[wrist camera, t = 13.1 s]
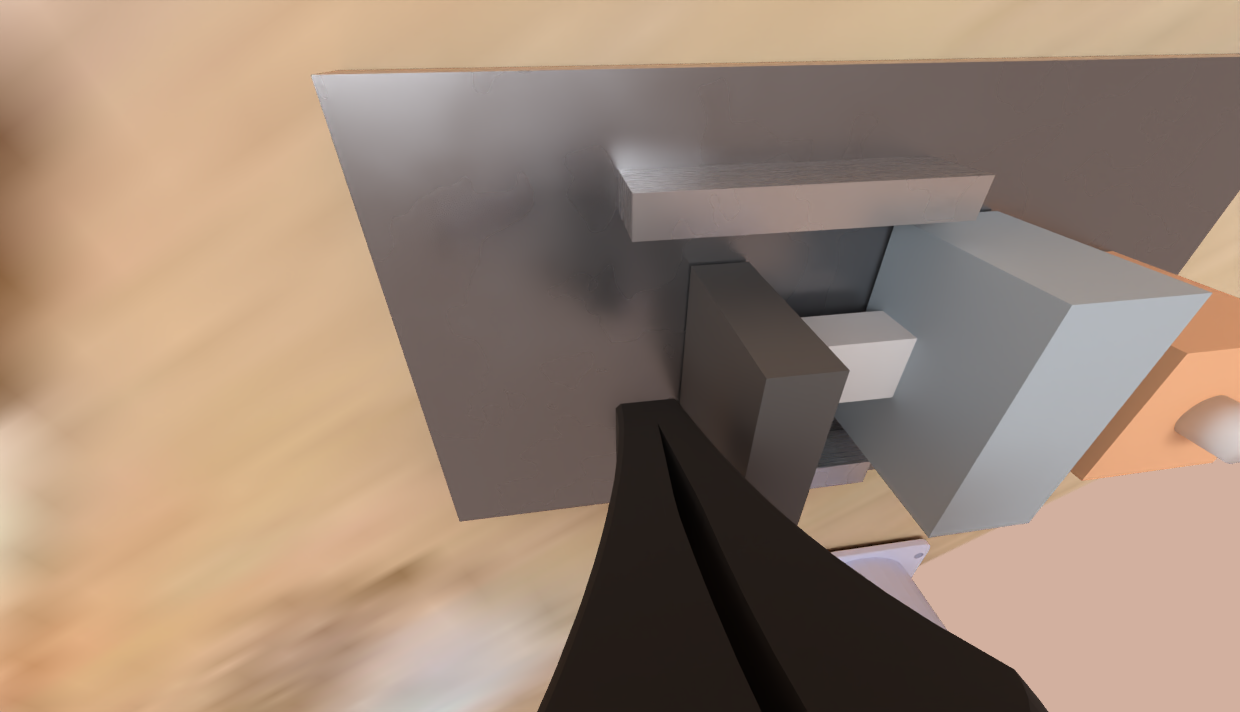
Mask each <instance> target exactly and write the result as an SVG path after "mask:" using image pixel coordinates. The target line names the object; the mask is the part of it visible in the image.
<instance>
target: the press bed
mask: <svg viewBox="0 0 1240 712" xmlns="http://www.w3.org/2000/svg"><path fill="white" fill-rule="evenodd" d="M311 77H312V80H313V83H314V86H315V89H316V92H317V95H318V98H319V101H320V104H321V107H322V110H323V113H324V116H325V119H326V122H327V125H328V128H329V131H330V134H331V137H332V140H333V143H334V146H335V149H336V152H337V155H338V158H339V161H340V164H341V167H342V170H343V173H344V176H345V179H346V182H347V185H348V188H349V191H350V194H351V197H352V200H353V203H354V206H355V209H356V212H357V215H358V218H359V221H360V224H361V227H362V230H363V233H364V236H365V239H366V242H367V245H368V248H369V251H370V254H371V257H372V260H373V263H374V266H375V269H376V272H377V275H378V278H379V281H380V284H381V287H382V290H383V293H384V296H385V299H386V302H387V305H388V308H389V311H390V314H391V317H392V320H393V323H394V326H395V329H396V332H397V335H398V338H399V341H400V344H401V347H402V350H403V353H404V356H405V359H406V362H407V365H408V368H409V371H410V374H411V377H412V380H413V383H414V386H415V389H416V392H417V395H418V398H419V401H420V404H421V407H422V410H423V413H424V416H425V419H426V422H427V425H428V428H429V431H430V434H431V437H432V440H433V443H434V446H435V449H436V452H437V455H438V458H439V461H440V464H441V467H442V470H443V473H444V476H445V479H446V482H447V485H448V488H449V491H450V494H451V497H452V500H453V503H454V506H455V509H456V512H457V515H458V518H459V521H468V520H476V519H484V518H492V517H500V516H508V515H515V514H523V513H531V512H539V511H547V510H555V509H563V508H571V507H579V506H587V505H595V504H603V503H610V498H611V493H612V488H613V483H614V477H615V469H616V407H618V406H619V405H620V404H623V403H633V402H643V401H653V400H663V399H675V400H676V401H678V402H679V404H680V393H681V381H682V370H683V358H684V346H685V334H686V322H687V310H688V298H689V286H690V274H691V266H697V265H712V264H726V263H740V262H749V263H750V264H751V265H752V266H753V267H754V268H755V269H756V270H757V271H758V272H759V274H760V275H761V276H762V277H763V278H764V279H765V280H766V281H767V282H768V283H769V284H770V285H771V286H772V287H773V289H774V290H775V291H776V292H777V293H778V294H779V295H780V296H781V297H782V298H783V299H784V300H785V301H786V302H787V304H788V305H789V306H790V307H791V308H792V309H793V310H794V311H795V312H796V313H797V314H798V315H799V316H800V317H812V316H824V315H836V314H848V313H860V312H866V309H867V306H868V303H869V300H870V297H871V294H872V291H873V288H874V285H875V282H876V279H877V276H878V273H879V270H880V267H881V264H882V261H883V258H884V255H885V252H886V249H887V246H888V243H889V240H890V237H891V234H892V231H893V228H894V226H896V225H912V224H928V223H944V222H960V221H976V219H977V216H978V214H979V212H989V211H999V212H1001V213H1004V214H1007V215H1009V216H1012V217H1014V218H1017V219H1020V220H1022V221H1025V222H1028V223H1030V224H1033V225H1036V226H1038V227H1041V228H1043V229H1046V230H1049V231H1051V232H1054V233H1057V234H1059V235H1062V236H1064V237H1067V238H1070V239H1072V240H1075V241H1078V242H1080V243H1083V244H1086V245H1088V246H1091V247H1093V248H1096V249H1099V250H1101V251H1104V252H1108V251H1114V252H1117V253H1119V254H1122V255H1125V256H1127V257H1130V258H1133V259H1135V260H1138V261H1141V262H1143V263H1146V264H1149V265H1151V266H1154V267H1157V268H1159V269H1162V270H1165V271H1167V272H1170V273H1173V274H1175V275H1178V273H1179V272H1180V271H1181V269H1182V268H1183V267H1184V265H1185V264H1186V263H1187V261H1188V260H1189V259H1190V257H1191V256H1192V254H1193V253H1194V252H1195V250H1196V249H1197V248H1198V246H1199V245H1200V244H1201V242H1202V241H1203V239H1204V238H1205V237H1206V235H1207V234H1208V233H1209V231H1210V230H1211V229H1212V227H1213V226H1214V224H1215V223H1216V222H1217V220H1218V219H1219V218H1220V216H1221V215H1222V214H1223V212H1224V211H1225V209H1226V208H1227V207H1228V205H1229V204H1230V203H1231V201H1232V200H1233V199H1234V197H1235V196H1236V194H1237V193H1238V192H1239V190H1240V54H1190V55H1136V56H1082V57H1028V58H974V59H920V60H866V61H812V62H758V63H704V64H650V65H596V66H542V67H488V68H434V69H380V70H337V71H331V72H325V73H319V74H313V75H311ZM872 469H875V468H874V467H873V466H872V464H871V463H870V462H869V461H868V459H867V458H866V457H865V455H864V454H863V453H862V452H861V450H860V449H859V448H858V447H857V445H856V444H855V443H854V441H853V440H852V439H851V438H850V436H849V435H848V434H847V432H846V431H845V430H844V429H843V427H842V426H841V425H840V423H839V422H838V421H837V420H836V418H835V417H834V419H833V422H832V425H831V428H830V431H829V434H828V436H827V439H826V442H825V445H824V448H823V451H822V454H821V457H820V460H819V463H818V466H817V469H816V472H815V475H814V478H813V481H812V484H811V486H810V489H811V488H819V487H827V486H834V485H842V484H850V483H858V482H863V480H864V477H865V475H866V473H867V470H872Z"/></svg>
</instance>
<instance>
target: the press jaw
mask: <svg viewBox="0 0 1240 712" xmlns="http://www.w3.org/2000/svg"><path fill="white" fill-rule="evenodd" d="M1211 294H1212V292H1209V291H1207V290H1204V289H1201V288H1199V287H1196V286H1193V285H1191V284H1188V283H1186V282H1183V281H1180V280H1178V279H1175V278H1172V277H1170V276H1167V275H1165V274H1162V273H1159V272H1157V271H1154V270H1151V269H1149V268H1146V267H1143V266H1141V265H1138V264H1136V263H1133V262H1130V261H1128V260H1125V259H1122V258H1120V257H1117V256H1115V255H1112V254H1109V253H1107V252H1104V251H1101V250H1099V249H1096V248H1093V247H1091V246H1088V245H1086V244H1083V243H1080V242H1078V241H1075V240H1072V239H1070V238H1067V237H1064V236H1062V235H1059V234H1057V233H1054V232H1051V231H1049V230H1046V229H1043V228H1041V227H1038V226H1036V225H1033V224H1030V223H1028V222H1025V221H1022V220H1020V219H1017V218H1014V217H1012V216H1009V215H1007V214H1004V213H1001V212H999V211H989V212H979V214H978V216H977V219H976V221H960V222H944V223H928V224H912V225H896V226H894V228H893V231H892V234H891V237H890V240H889V243H888V246H887V249H886V252H885V255H884V258H883V261H882V264H881V267H880V270H879V273H878V276H877V279H876V282H875V285H874V288H873V291H872V294H871V297H870V300H869V303H868V306H867V309H866V312H860V313H848V314H836V315H824V316H812V317H800V316H799V315H798V314H797V313H796V312H795V311H794V310H793V309H792V308H791V307H790V306H789V305H788V304H787V302H786V301H785V300H784V299H783V298H782V297H781V296H780V295H779V294H778V293H777V292H776V291H775V290H774V289H773V287H772V286H771V285H770V284H769V283H768V282H767V281H766V280H765V279H764V278H763V277H762V276H761V275H760V274H759V272H758V271H757V270H756V269H755V268H754V267H753V266H752V265H751V264H750V263H749V262H740V263H726V264H712V265H697V266H691V274H690V286H689V298H688V310H687V322H686V334H685V346H684V358H683V370H682V381H681V393H680V405H681V406H682V407H683V409H684V410H685V411H686V413H687V414H688V415H689V416H690V418H691V419H692V420H693V421H694V422H695V424H696V425H697V426H698V427H699V428H700V430H701V431H702V432H703V433H704V434H705V435H706V437H707V438H708V439H709V440H710V441H711V442H712V443H713V445H714V446H715V447H716V448H717V449H718V450H719V451H720V452H721V453H722V454H723V455H724V457H725V458H726V459H727V460H728V461H729V462H730V463H731V464H732V465H733V466H734V467H735V468H736V469H737V470H738V471H739V472H740V473H741V474H742V475H743V476H744V477H745V479H746V480H747V481H748V482H749V483H751V484H752V485H753V486H754V487H755V488H756V489H757V490H758V491H759V492H760V493H761V494H762V495H763V496H764V497H765V498H766V499H767V500H768V501H769V502H771V503H772V504H773V505H774V506H775V507H776V508H777V509H778V510H779V511H781V512H782V513H783V514H784V515H785V516H786V517H787V518H789V519H790V520H791V521H792V522H793V523H794V524H796V525H798V522H799V519H800V516H801V513H802V510H803V507H804V504H805V501H806V498H807V495H808V492H809V489H810V486H811V484H812V481H813V478H814V475H815V472H816V469H817V466H818V463H819V460H820V457H821V454H822V451H823V448H824V445H825V442H826V439H827V436H828V434H829V431H830V428H831V425H832V422H833V419H834V417H835V418H836V420H837V421H838V422H839V423H840V425H841V426H842V427H843V429H844V430H845V431H846V432H847V434H848V435H849V436H850V438H851V439H852V440H853V441H854V443H855V444H856V445H857V447H858V448H859V449H860V450H861V452H862V453H863V454H864V455H865V457H866V458H867V459H868V461H869V462H870V463H871V464H872V466H873V467H874V468H875V470H876V471H877V472H878V473H879V475H880V476H881V477H882V479H883V480H884V481H885V482H886V484H887V485H888V486H889V488H890V489H891V490H892V491H893V493H894V494H895V495H896V497H897V498H898V499H899V500H900V502H901V503H902V504H903V506H904V507H905V508H906V509H907V511H908V512H909V513H910V515H911V516H912V517H913V518H914V520H915V521H916V522H917V524H918V525H919V526H920V527H921V529H922V530H923V531H924V533H925V534H926V535H927V536H928V538H930V537H936V536H943V535H950V534H957V533H964V532H971V531H977V530H984V529H991V528H998V527H1005V526H1011V525H1018V524H1025V523H1029V522H1030V521H1031V519H1032V518H1033V517H1034V516H1035V514H1036V513H1037V512H1038V511H1039V509H1040V508H1041V507H1042V506H1043V504H1044V503H1045V502H1046V501H1047V499H1048V498H1049V497H1050V496H1051V494H1052V493H1053V492H1054V491H1055V489H1056V488H1057V487H1058V486H1059V484H1060V483H1061V482H1062V481H1063V479H1064V478H1065V477H1066V476H1067V474H1068V473H1069V472H1070V471H1071V469H1072V468H1073V467H1074V466H1075V464H1076V463H1077V462H1078V461H1079V459H1080V458H1081V457H1082V456H1083V454H1084V453H1085V452H1086V451H1087V449H1088V448H1089V447H1090V446H1091V444H1092V443H1093V442H1094V441H1095V439H1096V438H1097V437H1098V436H1099V434H1100V433H1101V432H1102V431H1103V429H1104V428H1105V427H1106V426H1107V424H1108V423H1109V422H1110V421H1111V419H1112V418H1113V417H1114V416H1115V414H1116V413H1117V412H1118V411H1119V409H1120V408H1121V407H1122V406H1123V404H1124V403H1125V402H1126V401H1127V399H1128V398H1129V397H1130V396H1131V394H1132V393H1133V392H1134V391H1135V389H1136V388H1137V387H1138V386H1139V384H1140V383H1141V382H1142V381H1143V379H1144V378H1145V377H1146V376H1147V374H1148V373H1149V372H1150V371H1151V369H1152V368H1153V367H1154V366H1155V364H1156V363H1157V362H1158V361H1159V359H1160V358H1161V357H1162V356H1163V354H1164V353H1165V352H1166V351H1167V349H1168V348H1169V347H1170V346H1171V344H1172V343H1173V342H1174V341H1175V339H1176V338H1177V337H1178V336H1179V334H1180V333H1181V332H1182V331H1183V329H1184V328H1185V327H1186V326H1187V324H1188V323H1189V322H1190V321H1191V319H1192V318H1193V317H1194V316H1195V314H1196V313H1197V312H1198V311H1199V309H1200V308H1201V307H1202V306H1203V304H1204V303H1205V302H1206V301H1207V299H1208V298H1209V297H1210V296H1211Z"/></svg>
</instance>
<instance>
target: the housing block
mask: <svg viewBox="0 0 1240 712" xmlns="http://www.w3.org/2000/svg"><path fill="white" fill-rule="evenodd" d="M1107 253H1109V254H1112V255H1115V256H1117V257H1120V258H1122V259H1125V260H1128V261H1130V262H1133V263H1136V264H1138V265H1141V266H1143V267H1146V268H1149V269H1151V270H1154V271H1157V272H1159V273H1162V274H1165V275H1167V276H1170V277H1172V278H1175V279H1178V280H1180V281H1183V282H1186V283H1188V284H1191V285H1193V286H1196V287H1199V288H1201V289H1204V290H1207V291H1209V292H1212V294H1211V296H1210V297H1209V298H1208V299H1207V301H1206V302H1205V303H1204V304H1203V306H1202V307H1201V308H1200V309H1199V311H1198V312H1197V313H1196V314H1195V316H1194V317H1193V318H1192V319H1191V321H1190V322H1189V323H1188V324H1187V326H1186V327H1185V328H1184V329H1183V331H1182V332H1181V333H1180V334H1179V336H1178V337H1177V338H1176V339H1175V341H1174V342H1173V343H1172V344H1171V346H1170V347H1169V348H1168V349H1167V351H1166V352H1165V353H1164V354H1163V356H1162V357H1161V358H1160V359H1159V361H1158V362H1157V363H1156V364H1155V366H1154V367H1153V368H1152V369H1151V371H1150V372H1149V373H1148V374H1147V376H1146V377H1145V378H1144V379H1143V381H1142V382H1141V383H1140V384H1139V386H1138V387H1137V388H1136V389H1135V391H1134V392H1133V393H1132V394H1131V396H1130V397H1129V398H1128V399H1127V401H1126V402H1125V403H1124V404H1123V406H1122V407H1121V408H1120V409H1119V411H1118V412H1117V413H1116V414H1115V416H1114V417H1113V418H1112V419H1111V421H1110V422H1109V423H1108V424H1107V426H1106V427H1105V428H1104V429H1103V431H1102V432H1101V433H1100V434H1099V436H1098V437H1097V438H1096V439H1095V441H1094V442H1093V443H1092V444H1091V446H1090V447H1089V448H1088V449H1087V451H1086V452H1085V453H1084V454H1083V456H1082V457H1081V458H1080V459H1079V461H1078V462H1077V463H1076V464H1075V466H1074V467H1073V468H1072V469H1071V472H1072V473H1073V474H1074V475H1075V476H1077V477H1078V478H1079V479H1080V480H1082V481H1084V480H1091V479H1098V478H1105V477H1112V476H1120V475H1126V474H1134V473H1141V472H1148V471H1155V470H1163V469H1170V468H1177V467H1184V466H1191V465H1199V464H1206V463H1212V462H1213V461H1215V460H1216V459H1217V458H1219V459H1221V460H1222V461H1224V462H1226V463H1229V464H1233V463H1238V462H1240V298H1237V297H1234V296H1232V295H1229V294H1226V293H1224V292H1221V291H1218V290H1216V289H1213V288H1210V287H1208V286H1205V285H1202V284H1200V283H1197V282H1194V281H1192V280H1189V279H1186V278H1183V277H1181V276H1178V275H1175V274H1173V273H1170V272H1167V271H1165V270H1162V269H1159V268H1157V267H1154V266H1151V265H1149V264H1146V263H1143V262H1141V261H1138V260H1135V259H1133V258H1130V257H1127V256H1125V255H1122V254H1119V253H1117V252H1114V251H1108V252H1107Z"/></svg>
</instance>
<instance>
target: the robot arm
mask: <svg viewBox="0 0 1240 712" xmlns="http://www.w3.org/2000/svg"><path fill="white" fill-rule="evenodd" d="M929 549H930V545H929V543H928V542H927V541H926V540H925V539H916V540H909V541H903V542H896V543H889V544H882V545H875V546H868V547H862V548H855V549H848V550H841V551H834V552H829V551H828V550H827V549H825V548H824V547H823V546H822V545H820V544H819V543H818V542H817V541H815V540H814V539H813V538H811V537H810V536H809V535H808V534H806V533H805V532H804V531H803V530H802V529H800V528H799V527H798V526H797V525H796V524H794V523H793V522H792V521H791V520H790V519H789V518H787V517H786V516H785V515H784V514H783V513H782V512H781V511H779V510H778V509H777V508H776V507H775V506H774V505H773V504H772V503H771V502H769V501H768V500H767V499H766V498H765V497H764V496H763V495H762V494H761V493H760V492H759V491H758V490H757V489H756V488H755V487H754V486H753V485H752V484H751V483H749V482H748V481H747V480H746V479H745V477H744V476H743V475H742V474H741V473H740V472H739V471H738V470H737V469H736V468H735V467H734V466H733V465H732V464H731V463H730V462H729V461H728V460H727V459H726V458H725V457H724V455H723V454H722V453H721V452H720V451H719V450H718V449H717V448H716V447H715V446H714V445H713V443H712V442H711V441H710V440H709V439H708V438H707V437H706V435H705V434H704V433H703V432H702V431H701V430H700V428H699V427H698V426H697V425H696V424H695V422H694V421H693V420H692V419H691V418H690V416H689V415H688V414H687V413H686V411H685V410H684V409H683V407H682V406H681V405H680V404H679V402H678V401H676V400H675V399H663V400H653V401H643V402H633V403H623V404H620V405H619V406H618V407H616V469H615V477H614V483H613V488H612V493H611V498H610V503H609V508H608V513H607V517H606V521H605V525H604V529H603V533H602V537H601V541H600V544H599V548H598V551H597V555H596V558H595V562H594V565H593V568H592V571H591V574H590V577H589V581H588V584H587V587H586V590H585V593H584V596H583V599H582V602H581V605H580V607H579V610H578V613H577V616H576V619H575V621H574V624H573V626H572V629H571V631H570V634H569V637H568V639H567V642H566V644H565V647H564V649H563V652H562V655H561V657H560V660H559V662H558V665H557V667H556V670H555V672H554V675H553V677H552V679H551V682H550V684H549V686H548V689H547V691H546V693H545V695H544V698H543V700H542V702H541V704H540V707H539V709H538V711H537V712H1048V711H1047V709H1046V708H1045V707H1044V705H1043V704H1042V703H1041V701H1040V700H1039V699H1038V698H1037V696H1036V695H1035V694H1034V693H1033V691H1032V690H1031V689H1030V688H1029V686H1028V685H1027V684H1026V683H1025V682H1024V680H1023V679H1022V678H1021V677H1020V676H1019V674H1018V673H1017V672H1016V671H1015V670H1014V669H1013V668H1011V667H1009V666H1007V665H1005V664H1004V663H1002V662H1000V661H999V660H997V659H995V658H994V657H992V656H990V655H988V654H987V653H985V652H983V651H981V650H980V649H978V648H976V647H975V646H973V645H971V644H969V643H968V642H966V641H964V640H962V639H961V638H959V637H957V636H956V635H954V634H952V633H950V632H949V631H947V629H946V628H945V626H944V625H943V623H942V622H941V620H940V619H939V618H938V616H937V615H936V613H935V612H934V610H933V609H932V607H931V606H930V604H929V603H928V602H927V600H926V599H925V597H924V596H923V594H922V593H921V591H920V590H919V589H918V587H917V586H916V584H915V583H914V581H913V580H912V579H911V578H912V576H913V574H914V573H915V571H916V570H917V568H918V567H919V565H920V563H921V562H922V560H923V559H924V557H925V556H926V554H927V552H928V551H929Z"/></svg>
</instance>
